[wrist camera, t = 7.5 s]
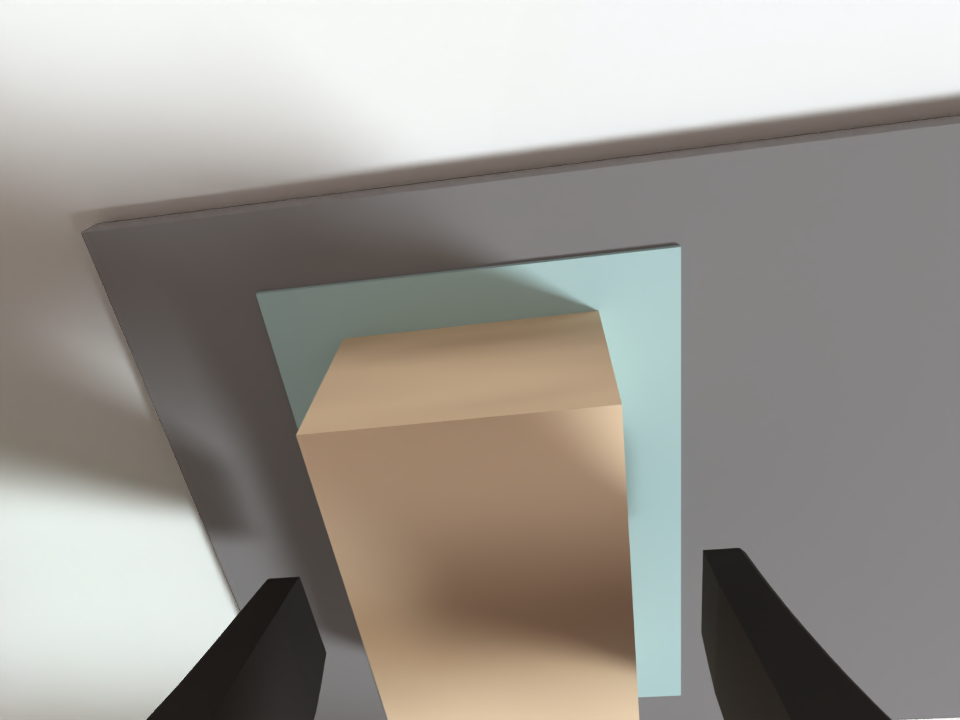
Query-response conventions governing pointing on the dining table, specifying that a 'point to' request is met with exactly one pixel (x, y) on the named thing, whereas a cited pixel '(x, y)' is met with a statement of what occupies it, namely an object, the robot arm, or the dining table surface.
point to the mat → (638, 371)
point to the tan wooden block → (482, 517)
